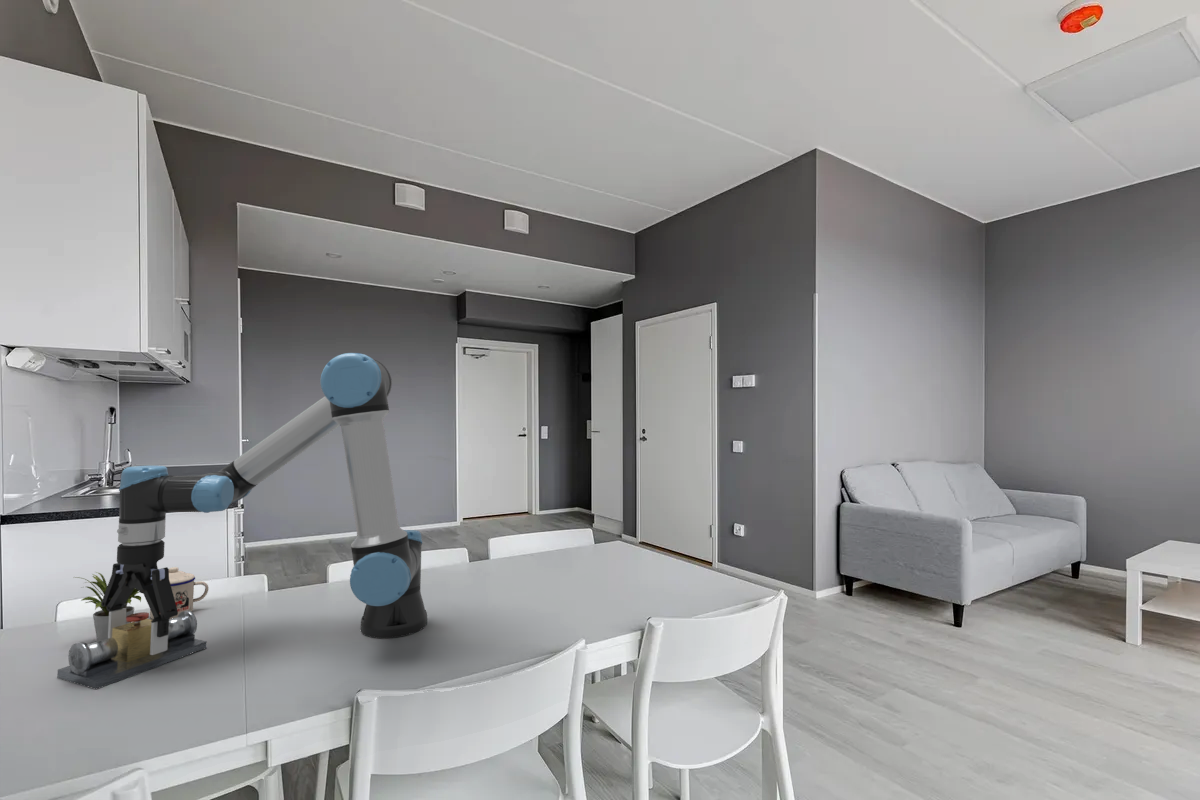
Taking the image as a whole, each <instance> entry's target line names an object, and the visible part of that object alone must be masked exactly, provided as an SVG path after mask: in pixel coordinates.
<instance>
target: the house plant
mask: <svg viewBox="0 0 1200 800" xmlns="http://www.w3.org/2000/svg"><path fill="white" fill-rule="evenodd" d="M95 573H96V574H98V575H100V577H101V578H100V577H99V576H98V575H95V574H93V573H92V578H93V579H94V580H95V581H90V580H88V579H86V578H83V577H80V576H79V577H77V576H76V577H75V576H74V578H77V579H83V580H85V582H84V584H86V583H90V584H91V585H92V586H93V587H91V586H86V588H87V589H90V590H91V591H92V592H93V593H94V594H95V595H96V596H97V598H96V597H94V596H86V597H83V598H82V599H81V600H80V602H82V601H85V602H84V604H89V603H93V604H95V609H94V611H95V612H94V613H93V614H92V618H93V623H94V630H95V637H96V642H97V641H101V640H104V639H107V638H108V624H109V611H107V607H106V606H104V607H103V606H102V605H101V602H102V600H103V597H104V594H105V591H106V589H107V586H108V584H107V581H106V579H105V576H104V575H103V574H102V573H100V572H97V571H95ZM95 585H96V586H97V587H98V588H99V589H100V590H99V589H98V588H97V587H96V586H95ZM80 588H83V586H82V587H80ZM139 593H140V592H139V590H138V589H134V590H133V592H132V593H131V595H130V596H129V598H128V600H127V601H126V605H127V606H126V605H125V607H122V608H126V617H127V616H128V615H131V614H135V607H134V606H130V605H132V603H131V602H132V598H134V599H136V600H138V601H139V602H140V603H141V601H142V596H140V595H137V594H139ZM100 594H101V595H100ZM109 599H112V598H109ZM128 604H129V606H128ZM98 608H100V610H97V609H98ZM122 608H121V609H122ZM96 610H97V611H96ZM128 623H131V622H127V621H126V624H128Z"/></svg>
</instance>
